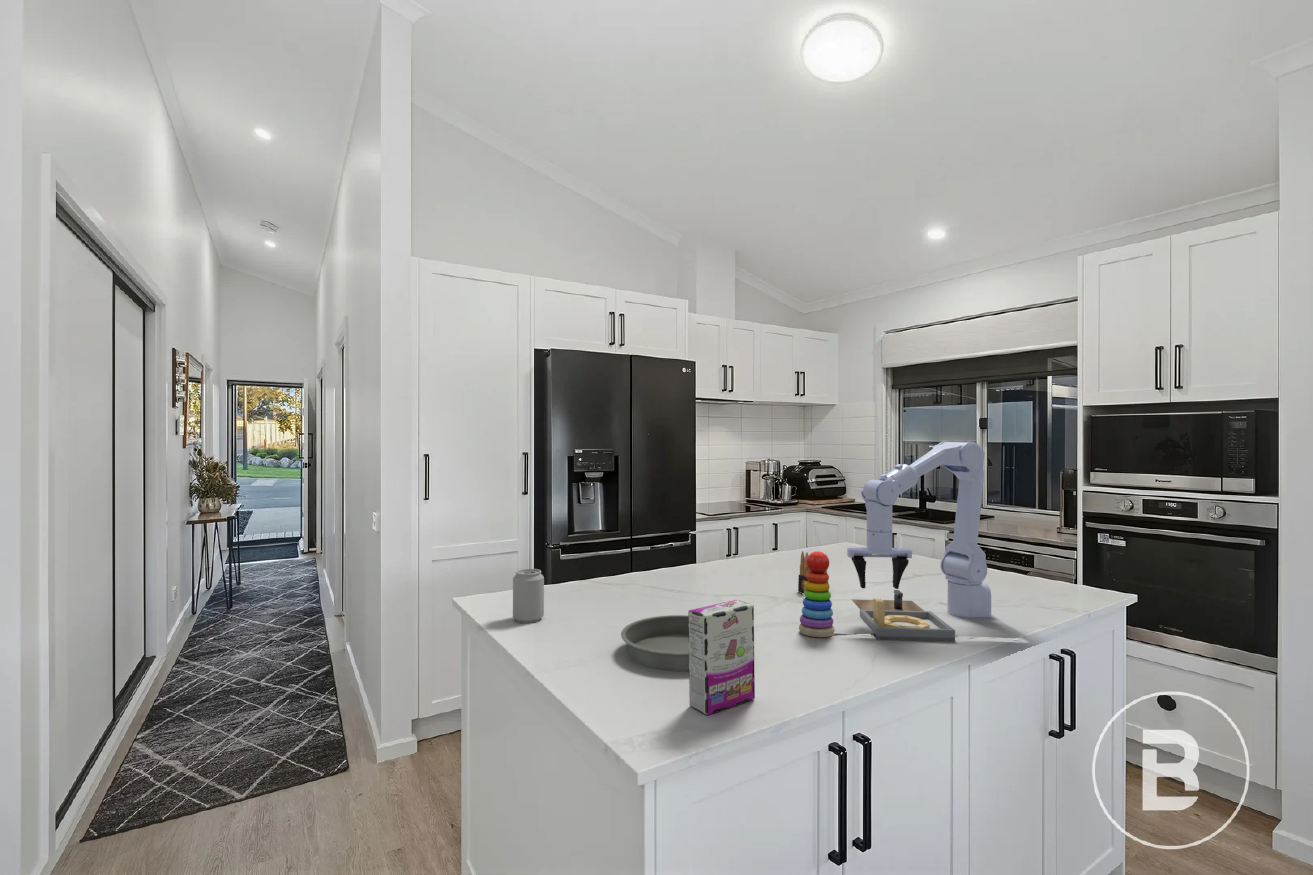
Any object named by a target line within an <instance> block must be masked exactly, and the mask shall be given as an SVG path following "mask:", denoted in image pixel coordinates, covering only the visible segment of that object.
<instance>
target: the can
mask: <svg viewBox="0 0 1313 875" xmlns="http://www.w3.org/2000/svg"><path fill="white" fill-rule="evenodd" d="M544 616H545V577H544V575H543V574H542V570H541V569H538V568H522V569H518V570H516V571H515V575H514V576H513V578H512V618H513V619H514V620H515V621H516V622H517V623H523V624H525V623H527V624H528V623H529V624H530V623H536V622H539V621H540V620H541V619H542V618H543V617H544Z"/></svg>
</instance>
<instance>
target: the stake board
mask: <svg viewBox="0 0 1313 875" xmlns="http://www.w3.org/2000/svg"><path fill="white" fill-rule="evenodd" d="M882 600H883V601H884V602H885V610H896V611H925V610H924V609H923V608H921V606H919V605H918V604H917V603H915V601H912V600H902V609H900V610H899V609H894V599H882ZM851 601H852V602H853V603H854V604H855V606H856V607H857V608H858V609H859V611H860V610H873V604H874V599H851Z"/></svg>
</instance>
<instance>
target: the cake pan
mask: <svg viewBox="0 0 1313 875" xmlns="http://www.w3.org/2000/svg"><path fill="white" fill-rule="evenodd" d="M620 637H621V639H622V640H623V642H624V643H626V646H627V649H628V653H629V656H630V658H631V659H632V660H633V661H634V662H636V663H638V664H641V665H643V666H645V667H649V668H653V669H656V670H657V669H658V670H663V671H672V672H673V671H675V672H677V671H678V672H689V618H688V614H687V615H685V614H683V615H681V614H677V615H676V614H672V615H671V614H670V615H657V616H652V617H646V618H642V619H639V620H636V621H633V622H631V623H629V624H627V625H626V626H625V627H623V629H622V630H621V633H620Z"/></svg>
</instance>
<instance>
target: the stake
mask: <svg viewBox="0 0 1313 875" xmlns="http://www.w3.org/2000/svg"><path fill="white" fill-rule="evenodd" d="M903 597H904V594H903V592H902V591H900V589H893V600H894V609H899V610H900V609H902V601H903Z"/></svg>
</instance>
